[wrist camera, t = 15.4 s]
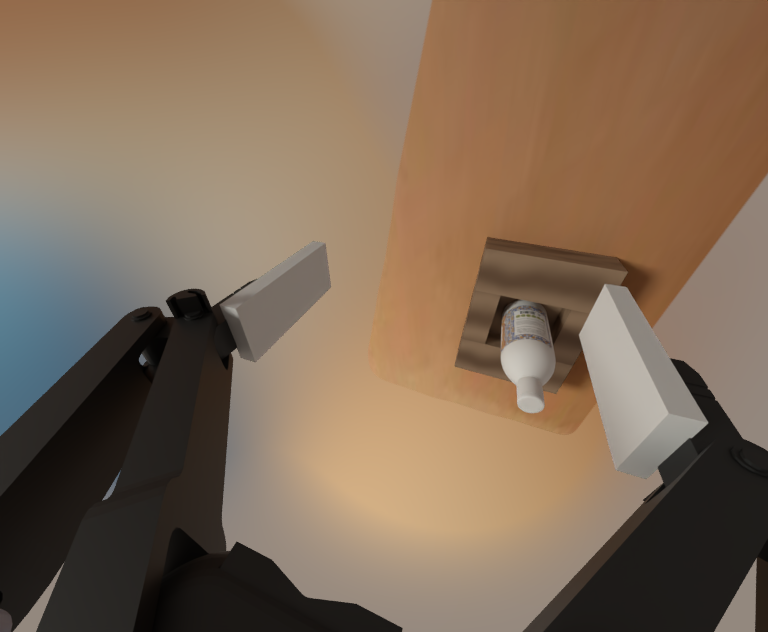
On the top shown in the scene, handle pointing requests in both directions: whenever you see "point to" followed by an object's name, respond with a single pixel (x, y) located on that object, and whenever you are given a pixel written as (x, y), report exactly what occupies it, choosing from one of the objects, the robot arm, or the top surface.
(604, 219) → the top surface
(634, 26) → the top surface
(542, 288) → the walnut holder
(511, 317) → the bath foam
